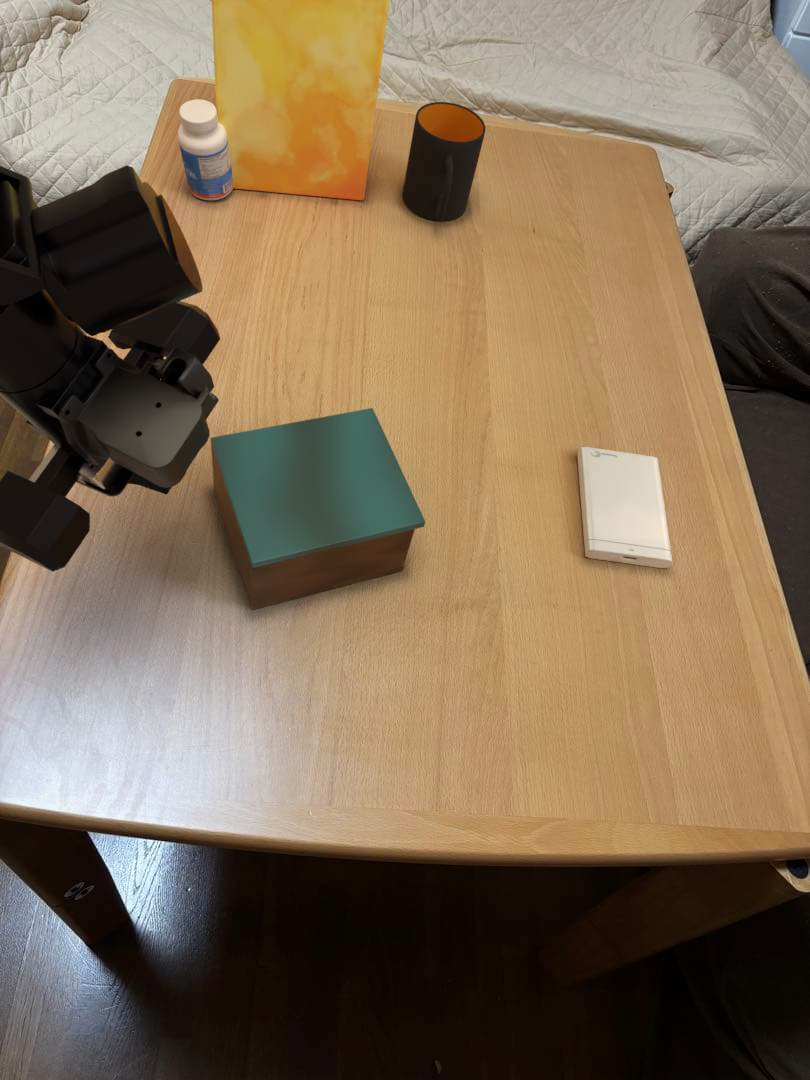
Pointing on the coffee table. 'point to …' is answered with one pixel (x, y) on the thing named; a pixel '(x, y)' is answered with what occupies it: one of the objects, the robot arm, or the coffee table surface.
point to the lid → (314, 486)
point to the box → (310, 561)
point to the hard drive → (623, 508)
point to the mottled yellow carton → (299, 92)
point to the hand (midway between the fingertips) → (165, 488)
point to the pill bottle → (205, 151)
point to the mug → (442, 160)
